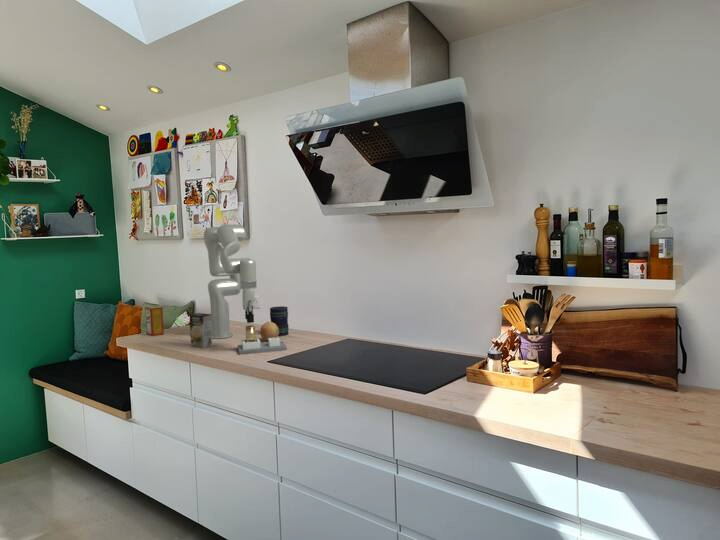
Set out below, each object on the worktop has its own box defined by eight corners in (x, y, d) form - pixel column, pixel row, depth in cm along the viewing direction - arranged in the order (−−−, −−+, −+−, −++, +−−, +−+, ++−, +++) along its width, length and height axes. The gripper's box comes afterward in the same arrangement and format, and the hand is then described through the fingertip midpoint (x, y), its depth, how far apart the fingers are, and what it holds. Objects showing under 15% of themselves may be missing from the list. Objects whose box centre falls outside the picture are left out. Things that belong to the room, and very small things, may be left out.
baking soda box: (163, 334, 288) (162, 306, 287) (152, 336, 284) (150, 308, 283) (158, 332, 296) (156, 305, 294) (146, 333, 291) (145, 306, 290)
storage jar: (292, 333, 280) (291, 307, 279) (280, 337, 272) (279, 309, 270) (278, 332, 285) (277, 306, 284) (266, 335, 277) (265, 308, 276)
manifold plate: (237, 348, 248) (237, 339, 247) (282, 344, 254) (282, 335, 254) (239, 354, 234) (238, 344, 234) (286, 350, 241) (286, 340, 240)
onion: (275, 342, 257) (274, 323, 257) (257, 342, 259) (256, 323, 259) (282, 338, 267) (281, 320, 266) (264, 338, 269) (263, 320, 268)
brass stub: (246, 346, 244) (245, 325, 243) (255, 345, 245) (254, 325, 245) (246, 348, 240) (245, 327, 239) (256, 347, 241) (255, 326, 240)
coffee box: (190, 346, 254) (188, 315, 253) (199, 343, 260) (197, 313, 259) (204, 347, 250) (202, 315, 249) (213, 345, 256) (211, 313, 255)
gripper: (239, 283, 248) (240, 318, 249) (241, 287, 231) (242, 324, 233) (254, 282, 250) (255, 317, 251) (258, 287, 233) (259, 323, 235)
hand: (249, 320), depth 242 cm, fingers open, 9 cm apart
